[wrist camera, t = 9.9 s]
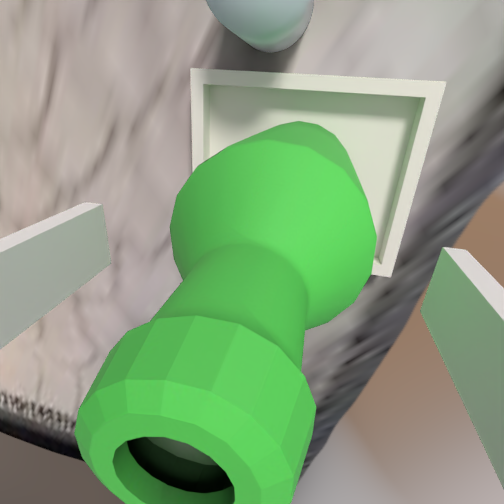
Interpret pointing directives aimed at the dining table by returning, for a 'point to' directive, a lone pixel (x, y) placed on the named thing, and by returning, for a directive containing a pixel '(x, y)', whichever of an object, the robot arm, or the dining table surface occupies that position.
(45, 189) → the dining table surface
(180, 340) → the bottle
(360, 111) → the tray
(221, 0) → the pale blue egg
